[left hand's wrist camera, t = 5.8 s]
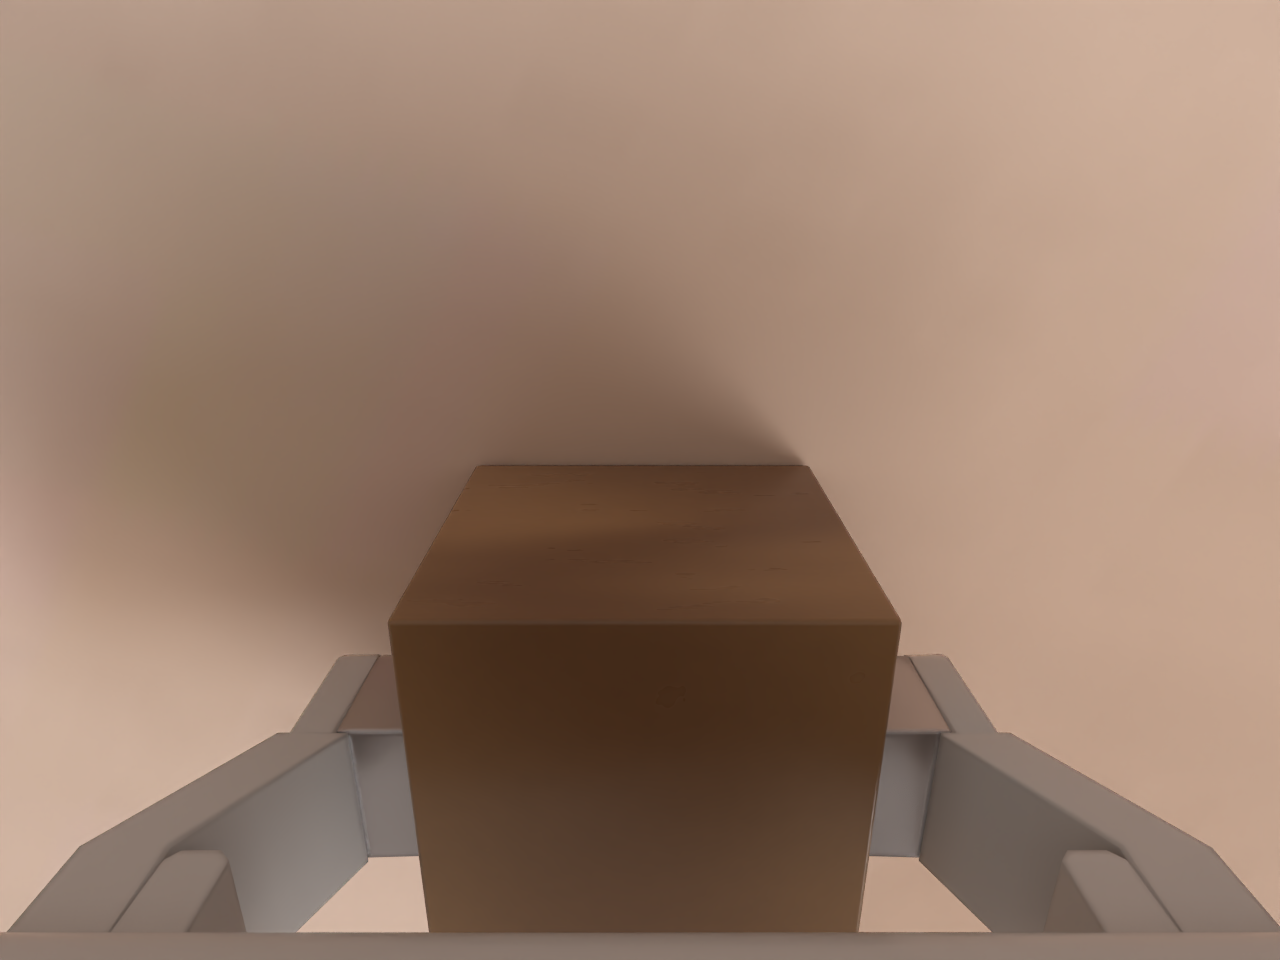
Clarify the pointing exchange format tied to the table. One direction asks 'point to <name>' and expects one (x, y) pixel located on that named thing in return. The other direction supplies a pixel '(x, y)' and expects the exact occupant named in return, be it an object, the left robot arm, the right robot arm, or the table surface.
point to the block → (643, 703)
